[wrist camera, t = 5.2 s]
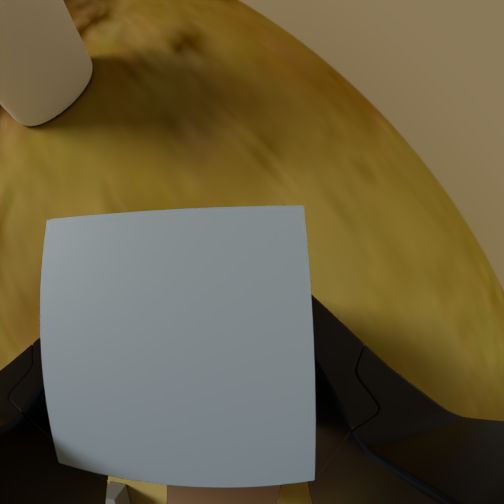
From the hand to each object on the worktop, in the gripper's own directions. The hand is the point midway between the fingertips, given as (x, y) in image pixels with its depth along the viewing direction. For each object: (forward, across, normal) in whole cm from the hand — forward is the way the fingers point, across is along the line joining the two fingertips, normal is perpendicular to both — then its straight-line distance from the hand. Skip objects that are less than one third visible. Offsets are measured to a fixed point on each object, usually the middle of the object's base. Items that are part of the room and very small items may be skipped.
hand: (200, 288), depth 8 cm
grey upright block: (+3, 0, +6) cm, 7 cm away
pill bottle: (+16, +14, -7) cm, 23 cm away
